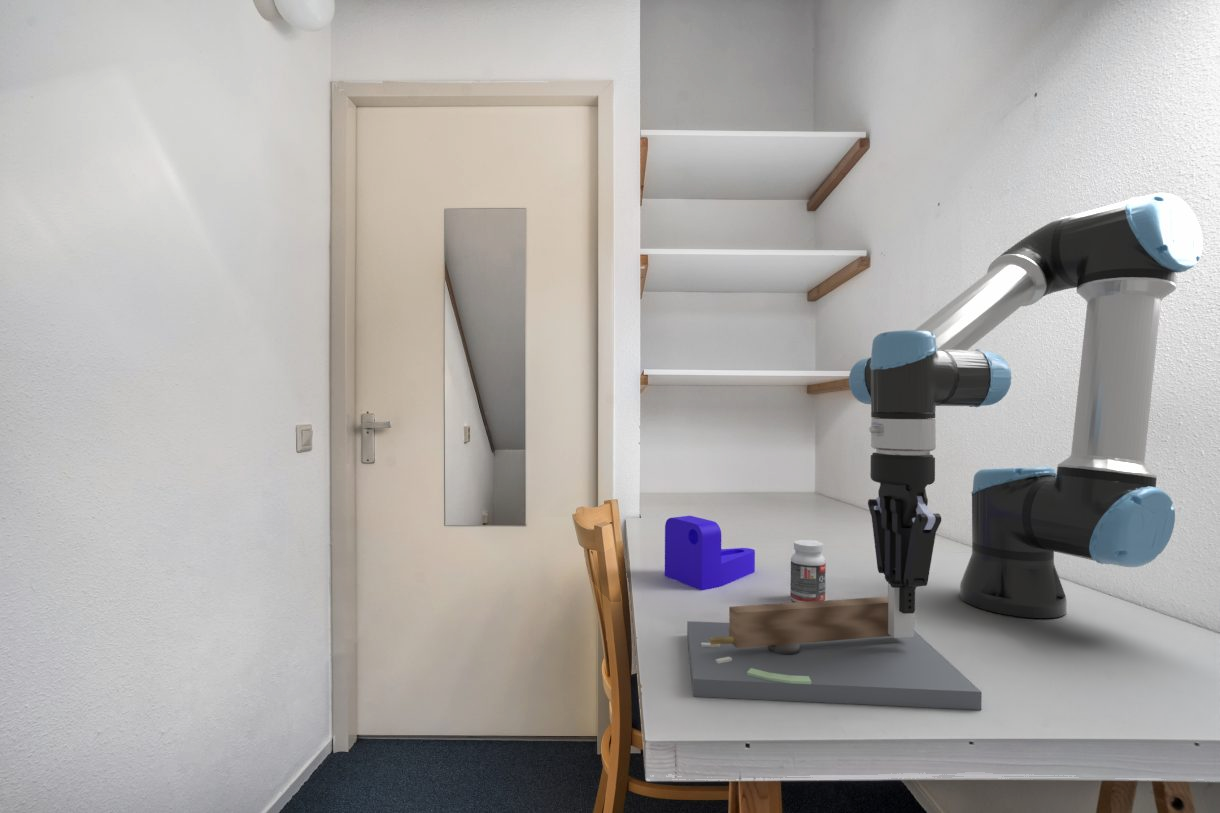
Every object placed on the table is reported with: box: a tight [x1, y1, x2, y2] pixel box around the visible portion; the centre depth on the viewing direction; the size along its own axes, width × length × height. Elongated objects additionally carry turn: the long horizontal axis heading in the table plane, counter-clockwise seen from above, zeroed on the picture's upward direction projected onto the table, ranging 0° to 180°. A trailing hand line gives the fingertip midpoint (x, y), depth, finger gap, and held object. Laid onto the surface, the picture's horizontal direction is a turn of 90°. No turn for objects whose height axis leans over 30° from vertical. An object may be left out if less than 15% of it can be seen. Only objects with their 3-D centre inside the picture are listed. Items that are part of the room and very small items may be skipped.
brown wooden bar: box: [709, 596, 891, 655], centre depth 82 cm, size 28×4×5 cm, turn 102°
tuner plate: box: [686, 621, 983, 711], centre depth 80 cm, size 32×19×2 cm, turn 85°
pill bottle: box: [789, 539, 827, 603], centre depth 107 cm, size 6×6×10 cm
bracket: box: [664, 515, 756, 591], centre depth 122 cm, size 18×11×12 cm, turn 123°
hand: (901, 635), depth 81 cm, fingers closed
